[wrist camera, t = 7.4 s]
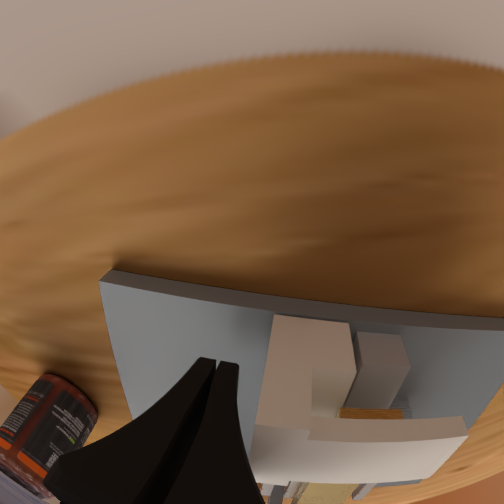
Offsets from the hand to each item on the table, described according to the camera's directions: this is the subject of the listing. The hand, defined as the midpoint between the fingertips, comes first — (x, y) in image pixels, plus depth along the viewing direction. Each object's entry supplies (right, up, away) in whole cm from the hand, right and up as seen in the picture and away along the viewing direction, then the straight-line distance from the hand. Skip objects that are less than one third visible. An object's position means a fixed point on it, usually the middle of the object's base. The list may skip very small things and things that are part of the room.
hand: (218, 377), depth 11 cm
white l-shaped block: (+4, 0, +1) cm, 5 cm away
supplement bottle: (-13, -7, +9) cm, 18 cm away
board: (+5, -5, +5) cm, 8 cm away
